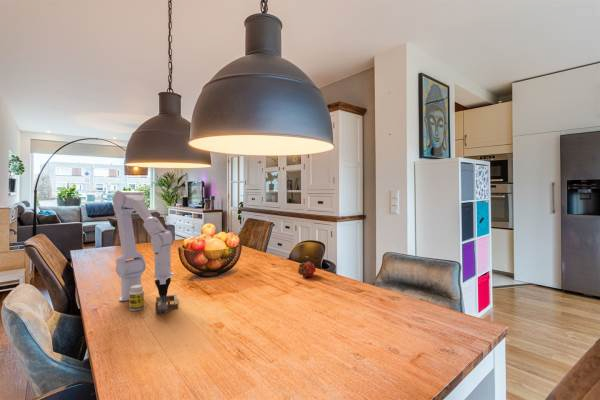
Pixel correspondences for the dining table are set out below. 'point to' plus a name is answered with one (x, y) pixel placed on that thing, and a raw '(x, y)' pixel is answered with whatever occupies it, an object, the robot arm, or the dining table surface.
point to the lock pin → (162, 304)
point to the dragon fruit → (307, 269)
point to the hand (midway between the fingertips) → (163, 298)
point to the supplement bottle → (136, 298)
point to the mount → (170, 306)
